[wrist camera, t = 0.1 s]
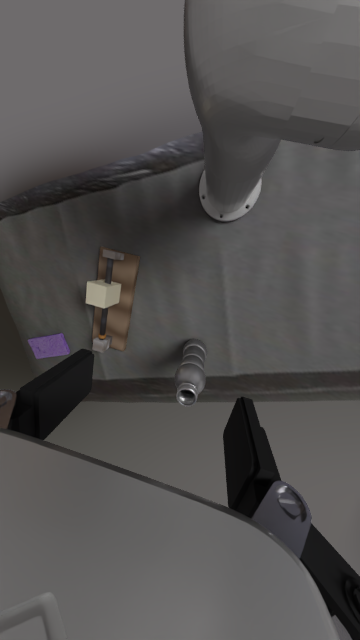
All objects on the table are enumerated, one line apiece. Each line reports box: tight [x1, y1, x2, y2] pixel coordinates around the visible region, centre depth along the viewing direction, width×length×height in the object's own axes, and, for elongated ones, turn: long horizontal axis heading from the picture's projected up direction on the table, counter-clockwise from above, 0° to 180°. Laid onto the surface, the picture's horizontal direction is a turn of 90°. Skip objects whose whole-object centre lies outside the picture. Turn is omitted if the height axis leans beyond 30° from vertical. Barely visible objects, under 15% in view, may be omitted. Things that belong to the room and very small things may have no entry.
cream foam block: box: [86, 279, 121, 308], centre depth 43 cm, size 5×5×7 cm
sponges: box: [28, 333, 70, 359], centre depth 58 cm, size 7×13×2 cm, turn 103°
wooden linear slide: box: [92, 247, 140, 353], centre depth 47 cm, size 27×10×6 cm, turn 166°
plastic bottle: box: [175, 339, 207, 406], centre depth 41 cm, size 6×7×20 cm
